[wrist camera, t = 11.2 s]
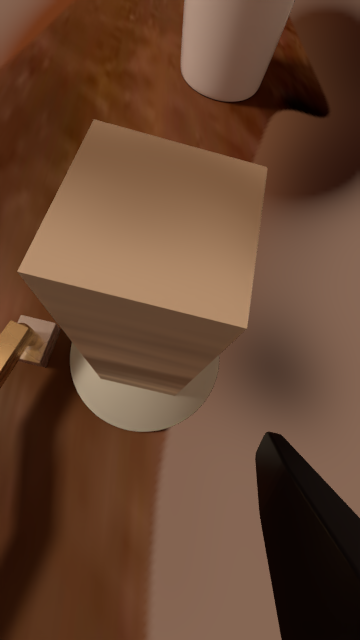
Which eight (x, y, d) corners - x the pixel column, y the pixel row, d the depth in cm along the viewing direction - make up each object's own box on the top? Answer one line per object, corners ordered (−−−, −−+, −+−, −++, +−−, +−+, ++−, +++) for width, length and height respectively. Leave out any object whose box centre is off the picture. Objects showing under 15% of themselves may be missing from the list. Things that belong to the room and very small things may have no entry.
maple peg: (174, 396, 16) (247, 328, 5) (100, 378, 16) (17, 271, 5) (189, 327, 18) (267, 167, 7) (122, 310, 18) (94, 119, 7)
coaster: (204, 447, 16) (206, 447, 16) (47, 411, 16) (45, 411, 15) (226, 307, 19) (228, 305, 19) (98, 275, 19) (97, 271, 19)
